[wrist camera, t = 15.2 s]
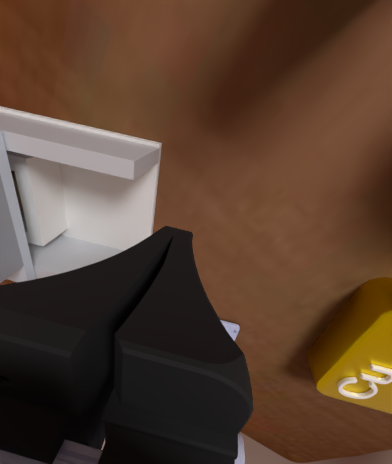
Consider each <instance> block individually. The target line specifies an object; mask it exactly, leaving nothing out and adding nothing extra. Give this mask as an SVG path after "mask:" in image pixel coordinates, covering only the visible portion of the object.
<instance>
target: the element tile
mask: <svg viewBox="0 0 392 464" xmlns="http://www.w3.org/2000/svg"><path fill="white" fill-rule="evenodd" d="M307 358H308V361H309V365H310V368H311V372H312V375H313V379H314V382H315V386H316V388H317V389H318V391H319V392H321V393H322V394H324V395H327V396H330V397H333V398H337V399H340V400H344V401H347V402H351V403H355V404H358V405H362V406H365V407H369V408H372V409H376V410H379V411H383V412H387V413H390V414H392V278H387V277H386V278H376V279H372V280H369V281H367V282H366V283H364V284H363V285H361V286H360V287H359V288H358V289H357V290H356V292H355V293H354V294H353V295H352V297H351V298H350V299H349V300H348V302H347V303H346V304H345V305H344V307H343V308H342V309H341V310H340V312H339V313H338V314H337V315H336V317H335V318H334V319H333V320H332V322H331V323H330V324H329V325H328V327H327V328H326V329H325V330H324V332H323V333H322V334H321V335H320V337H319V338H318V339H317V340H316V341H315V343H314V344H313V345H312V346H311V348H310V349H309V351H308V353H307Z"/></svg>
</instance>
